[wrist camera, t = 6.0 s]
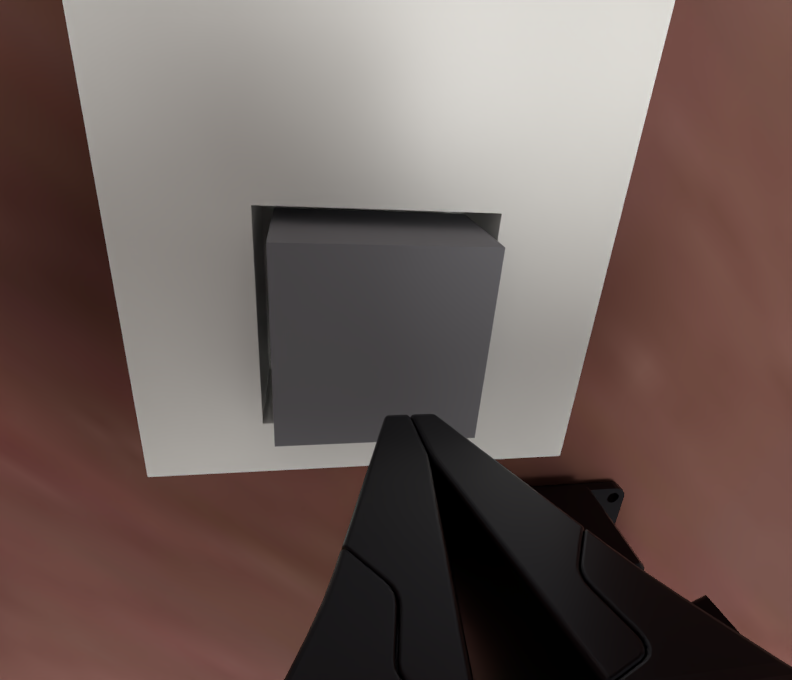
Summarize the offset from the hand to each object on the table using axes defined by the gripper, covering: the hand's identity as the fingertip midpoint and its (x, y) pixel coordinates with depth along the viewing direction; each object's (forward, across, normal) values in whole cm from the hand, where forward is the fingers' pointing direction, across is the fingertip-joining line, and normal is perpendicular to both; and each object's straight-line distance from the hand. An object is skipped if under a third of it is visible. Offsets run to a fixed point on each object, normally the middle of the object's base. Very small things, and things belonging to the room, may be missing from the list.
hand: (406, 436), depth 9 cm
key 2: (+7, 0, 0) cm, 7 cm away
